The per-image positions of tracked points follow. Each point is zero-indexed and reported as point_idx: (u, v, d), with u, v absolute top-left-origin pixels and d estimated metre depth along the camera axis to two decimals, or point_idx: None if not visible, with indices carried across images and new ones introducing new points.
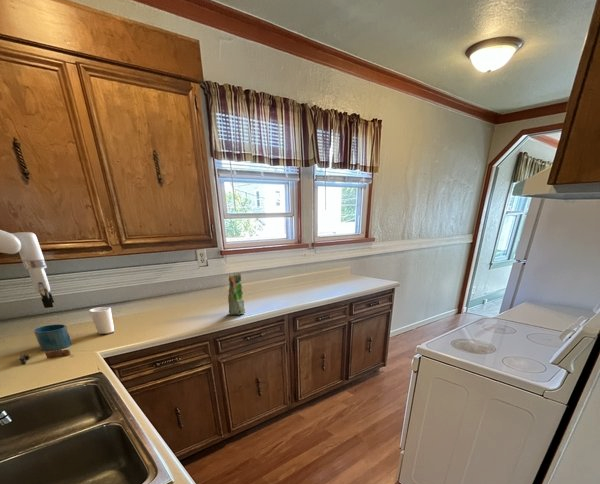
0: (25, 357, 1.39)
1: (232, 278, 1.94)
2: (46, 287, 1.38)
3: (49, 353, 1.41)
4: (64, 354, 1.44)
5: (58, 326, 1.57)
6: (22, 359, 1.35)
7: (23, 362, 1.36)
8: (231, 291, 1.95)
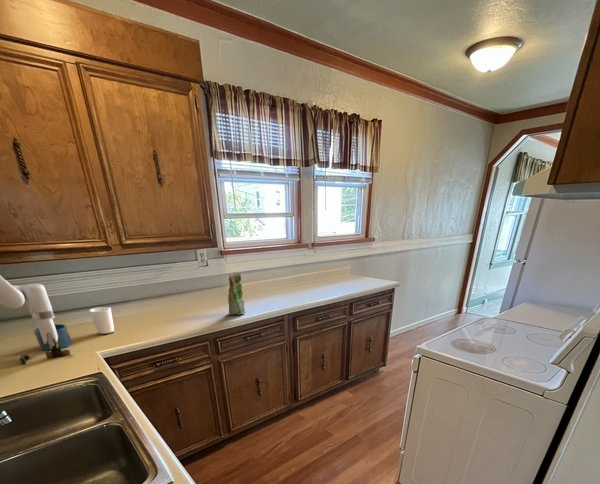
0: (25, 357, 1.39)
1: (232, 278, 1.94)
2: (54, 337, 1.37)
3: (49, 353, 1.41)
4: (64, 354, 1.44)
5: (58, 326, 1.57)
6: (22, 359, 1.35)
7: (23, 362, 1.36)
8: (231, 291, 1.95)
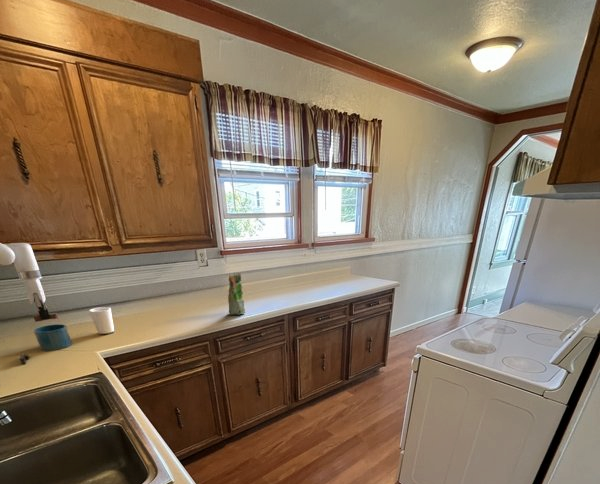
0: (25, 357, 1.39)
1: (232, 278, 1.94)
2: (41, 298, 1.36)
3: (37, 316, 1.41)
4: (52, 317, 1.44)
5: (58, 326, 1.57)
6: (22, 359, 1.35)
7: (23, 362, 1.36)
8: (231, 291, 1.95)
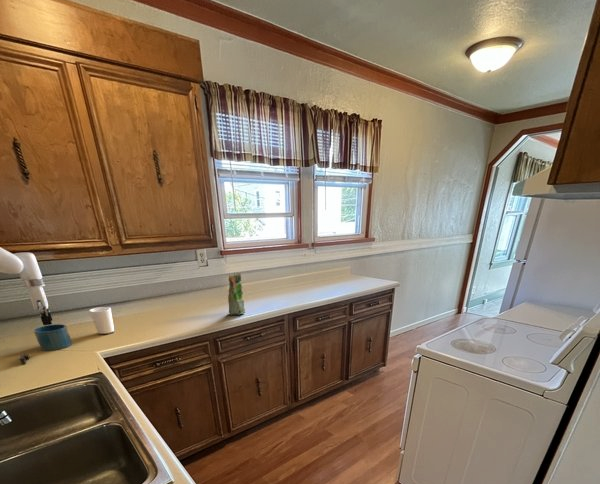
0: (25, 357, 1.39)
1: (232, 278, 1.94)
2: (44, 304, 1.43)
3: None
4: None
5: (58, 326, 1.57)
6: (22, 359, 1.35)
7: (23, 362, 1.36)
8: (231, 291, 1.95)
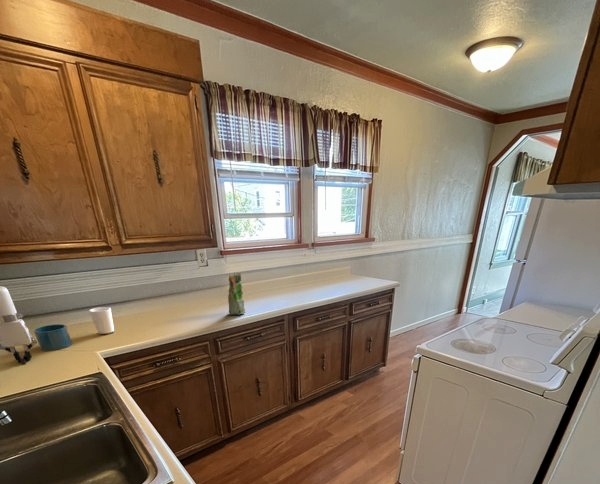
0: (25, 357, 1.39)
1: (232, 278, 1.94)
2: None
3: None
4: None
5: (58, 326, 1.57)
6: (22, 359, 1.35)
7: (23, 362, 1.36)
8: (231, 291, 1.95)
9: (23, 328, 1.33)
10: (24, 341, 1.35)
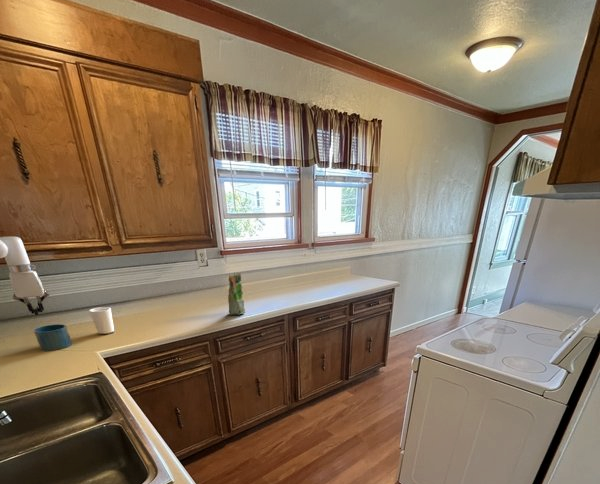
0: (38, 309, 1.44)
1: (232, 278, 1.94)
2: (14, 292, 1.37)
3: None
4: None
5: (58, 326, 1.57)
6: (35, 310, 1.40)
7: (36, 313, 1.41)
8: (231, 291, 1.95)
9: (36, 279, 1.38)
10: (37, 292, 1.40)
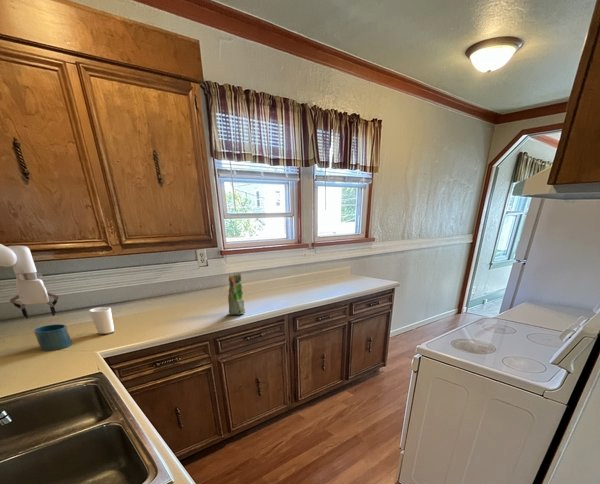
0: None
1: (232, 278, 1.94)
2: (20, 299, 1.40)
3: None
4: None
5: (58, 326, 1.57)
6: None
7: None
8: (231, 291, 1.95)
9: (42, 287, 1.42)
10: (42, 300, 1.43)
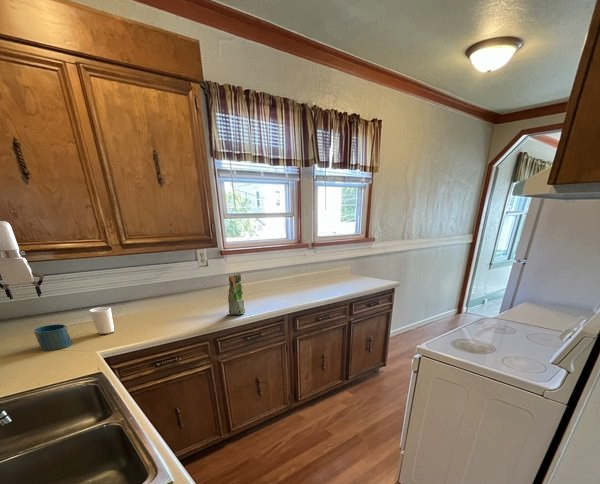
0: None
1: (232, 278, 1.94)
2: None
3: None
4: None
5: (58, 326, 1.57)
6: None
7: None
8: (231, 291, 1.95)
9: (25, 266, 1.34)
10: (26, 279, 1.36)
